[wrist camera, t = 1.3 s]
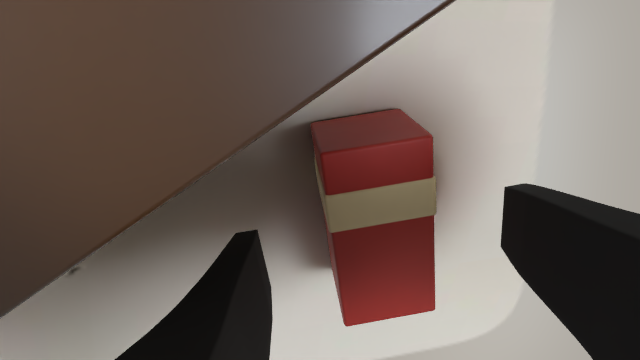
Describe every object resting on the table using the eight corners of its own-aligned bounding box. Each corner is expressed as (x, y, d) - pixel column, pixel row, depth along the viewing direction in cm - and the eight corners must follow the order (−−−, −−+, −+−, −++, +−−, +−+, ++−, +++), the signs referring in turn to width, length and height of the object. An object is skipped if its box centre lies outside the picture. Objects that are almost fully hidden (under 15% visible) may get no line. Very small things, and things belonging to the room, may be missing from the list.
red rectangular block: (408, 255, 15) (438, 312, 12) (330, 269, 15) (343, 329, 12) (401, 107, 13) (436, 135, 10) (308, 121, 13) (317, 155, 10)
